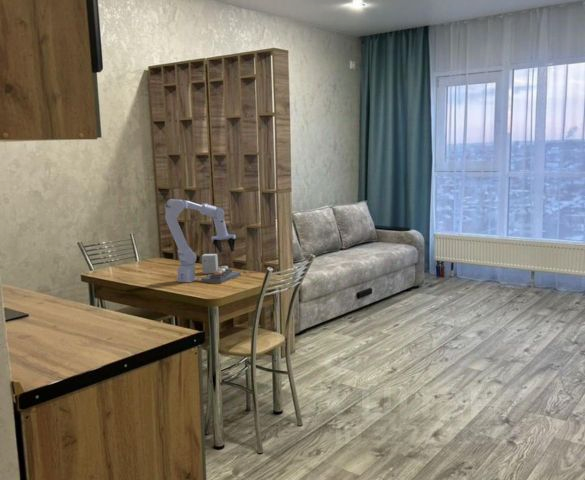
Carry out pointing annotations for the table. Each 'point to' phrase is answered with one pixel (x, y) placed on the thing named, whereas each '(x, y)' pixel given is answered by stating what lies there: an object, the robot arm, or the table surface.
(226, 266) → the sage button
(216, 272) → the clay button
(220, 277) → the button panel
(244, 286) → the table surface
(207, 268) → the small box
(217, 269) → the cream button
